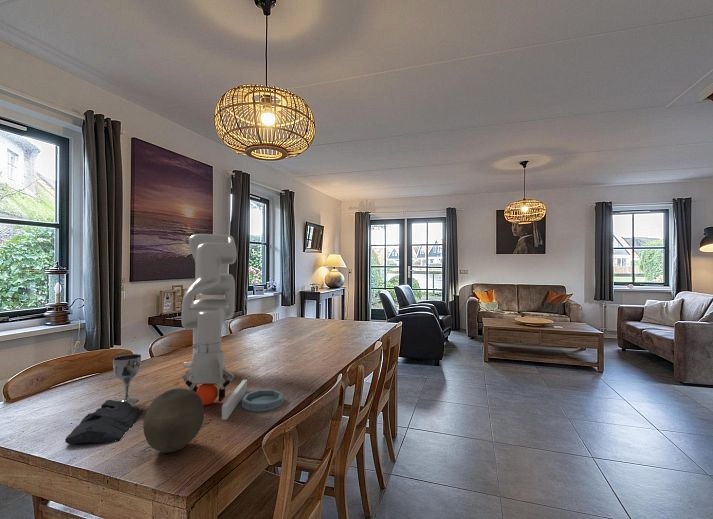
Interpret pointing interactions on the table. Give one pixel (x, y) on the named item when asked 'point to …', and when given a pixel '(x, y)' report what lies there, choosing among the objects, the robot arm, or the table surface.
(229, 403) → the low wall
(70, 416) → the table surface
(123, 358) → the wine glass
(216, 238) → the robot arm
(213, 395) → the clementine
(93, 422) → the dark slate chunk
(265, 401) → the grey shallow dish
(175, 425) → the cantaloupe
